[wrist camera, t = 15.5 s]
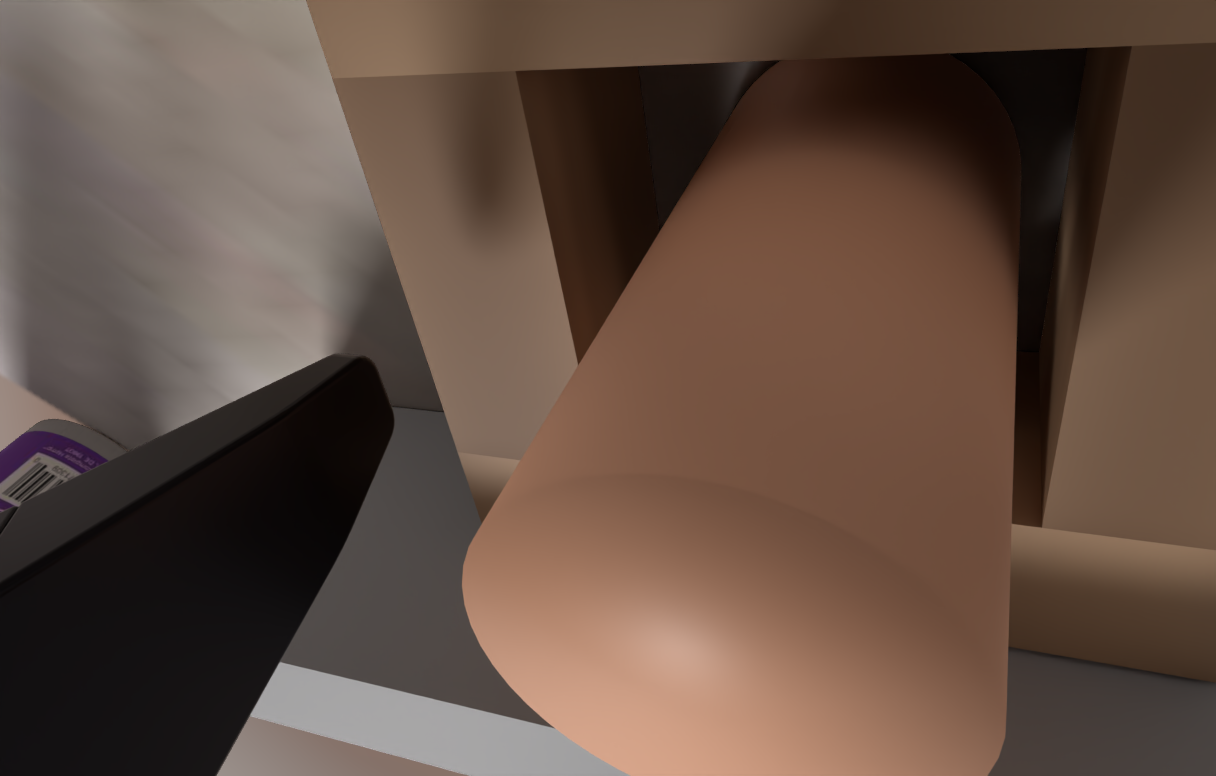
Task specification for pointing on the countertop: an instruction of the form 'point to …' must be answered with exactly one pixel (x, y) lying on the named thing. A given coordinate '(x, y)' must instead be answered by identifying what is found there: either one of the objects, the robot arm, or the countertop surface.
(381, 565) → the backstop wall
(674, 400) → the dowel
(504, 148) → the socket block
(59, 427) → the container
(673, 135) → the countertop surface
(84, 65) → the countertop surface
